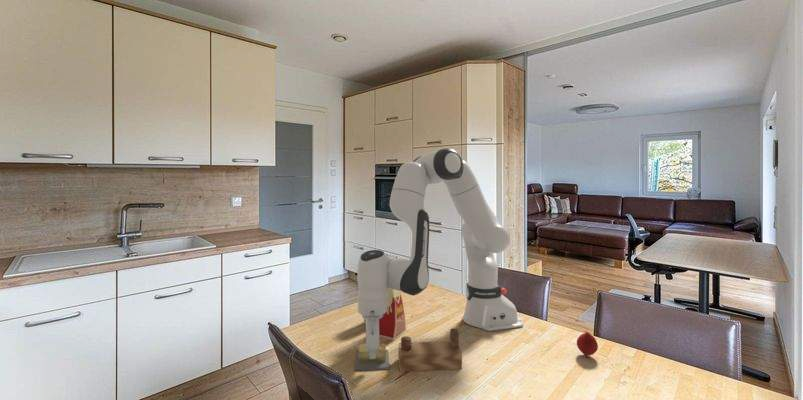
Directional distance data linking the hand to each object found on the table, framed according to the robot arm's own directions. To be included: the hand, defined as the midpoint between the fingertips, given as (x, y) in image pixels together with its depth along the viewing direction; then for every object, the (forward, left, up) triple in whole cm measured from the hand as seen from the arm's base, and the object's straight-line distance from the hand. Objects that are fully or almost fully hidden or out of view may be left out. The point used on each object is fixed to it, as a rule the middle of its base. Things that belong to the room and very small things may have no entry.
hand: (372, 349), depth 108 cm
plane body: (-17, +3, -4) cm, 18 cm away
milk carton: (-6, -18, -4) cm, 19 cm away
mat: (0, 0, -4) cm, 4 cm away
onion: (-67, +2, -4) cm, 67 cm away
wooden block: (0, 0, -3) cm, 3 cm away
